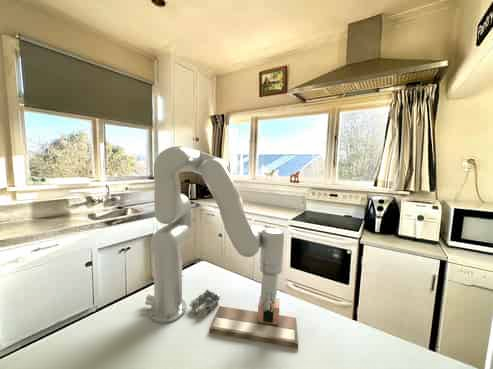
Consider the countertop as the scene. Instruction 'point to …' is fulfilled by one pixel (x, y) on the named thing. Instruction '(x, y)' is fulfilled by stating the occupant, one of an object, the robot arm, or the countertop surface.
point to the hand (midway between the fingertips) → (268, 314)
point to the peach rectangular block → (275, 311)
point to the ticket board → (254, 327)
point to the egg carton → (206, 298)
